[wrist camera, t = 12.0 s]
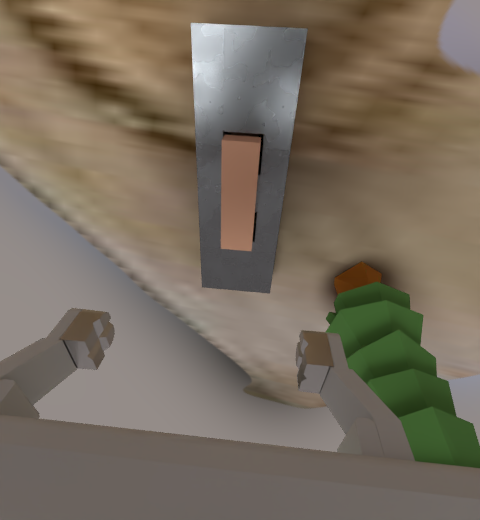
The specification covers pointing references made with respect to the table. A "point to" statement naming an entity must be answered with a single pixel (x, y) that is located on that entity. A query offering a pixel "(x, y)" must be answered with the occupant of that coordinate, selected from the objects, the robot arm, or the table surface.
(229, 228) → the brown block
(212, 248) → the grey metal flat block
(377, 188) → the table surface
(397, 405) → the decorative tree
